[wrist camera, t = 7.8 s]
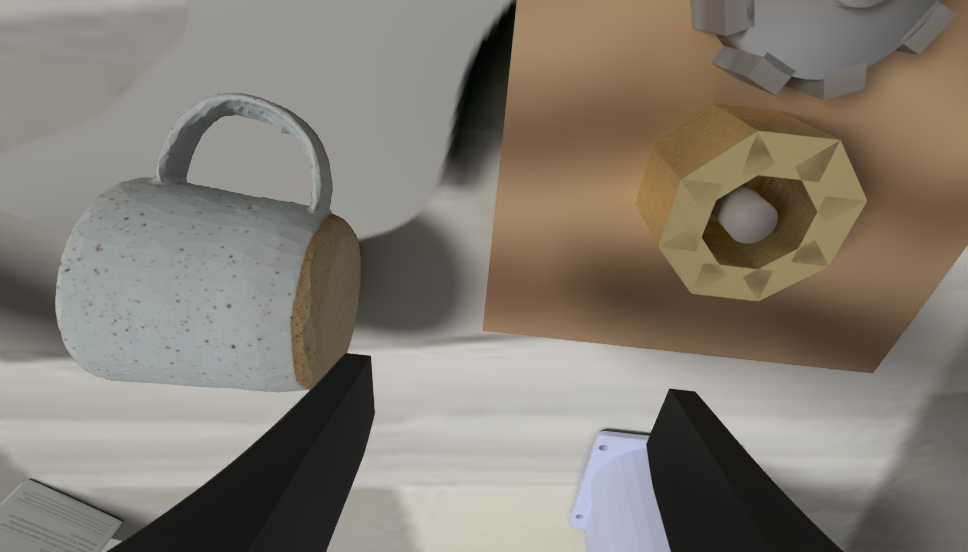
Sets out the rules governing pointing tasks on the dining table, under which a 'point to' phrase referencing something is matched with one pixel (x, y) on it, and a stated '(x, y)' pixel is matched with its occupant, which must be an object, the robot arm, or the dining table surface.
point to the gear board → (742, 212)
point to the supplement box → (51, 522)
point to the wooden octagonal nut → (784, 184)
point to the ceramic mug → (211, 273)
